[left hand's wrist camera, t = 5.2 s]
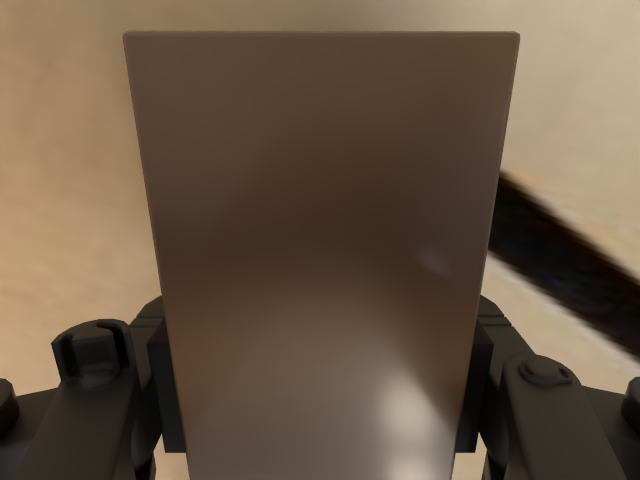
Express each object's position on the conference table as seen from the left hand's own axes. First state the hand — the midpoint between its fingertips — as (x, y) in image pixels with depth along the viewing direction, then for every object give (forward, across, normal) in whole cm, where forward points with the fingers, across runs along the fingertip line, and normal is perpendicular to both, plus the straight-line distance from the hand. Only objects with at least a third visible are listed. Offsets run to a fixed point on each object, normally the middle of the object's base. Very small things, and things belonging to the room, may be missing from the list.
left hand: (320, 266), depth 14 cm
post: (+1, 0, -33) cm, 33 cm away
